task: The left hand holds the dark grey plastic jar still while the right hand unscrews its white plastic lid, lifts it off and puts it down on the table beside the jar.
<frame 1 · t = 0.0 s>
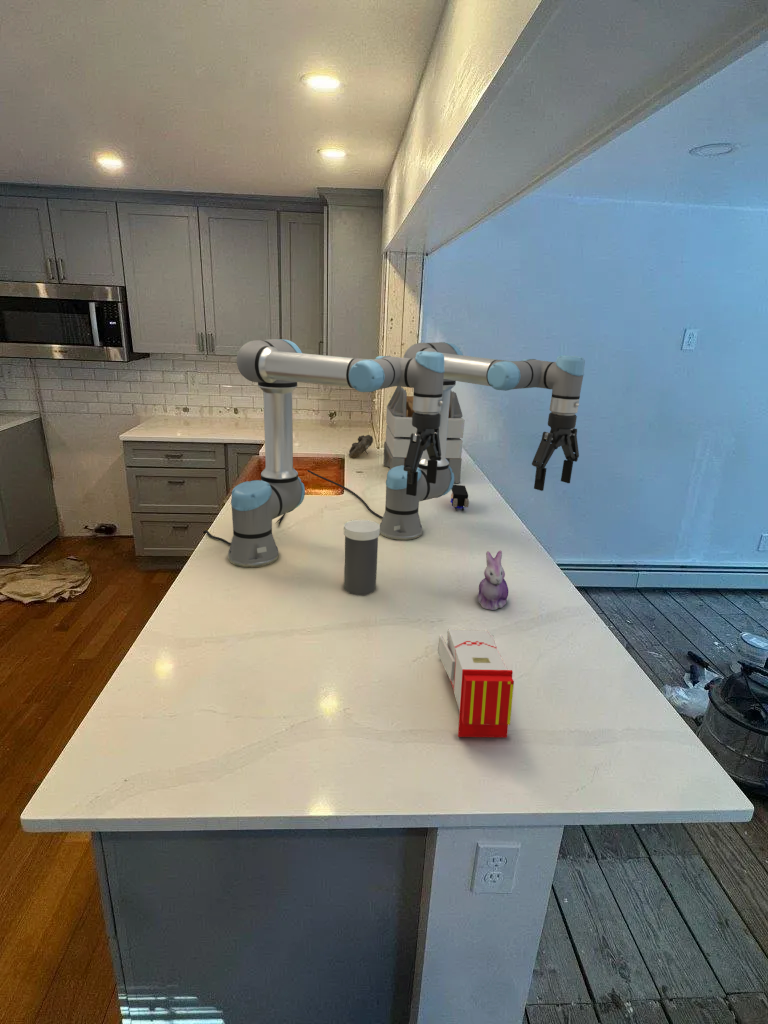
left hand: (421, 488, 157), 28 cm above the counter, tool pointing down, fingers open, 13 cm apart
right hand: (552, 485, 166), 28 cm above the counter, tool pointing down, fingers open, 13 cm apart
feather: (285, 514, 213), on the counter
jar: (360, 587, 160), on the counter
figurine: (492, 603, 155), on the counter
grey and brown box: (419, 473, 275), on the counter
figurine character: (458, 507, 230), on the counter
lid: (361, 526, 154), point 18 cm above the counter, screwed on, not yet turned
fossil: (360, 454, 305), on the counter
toy: (469, 691, 119), on the counter
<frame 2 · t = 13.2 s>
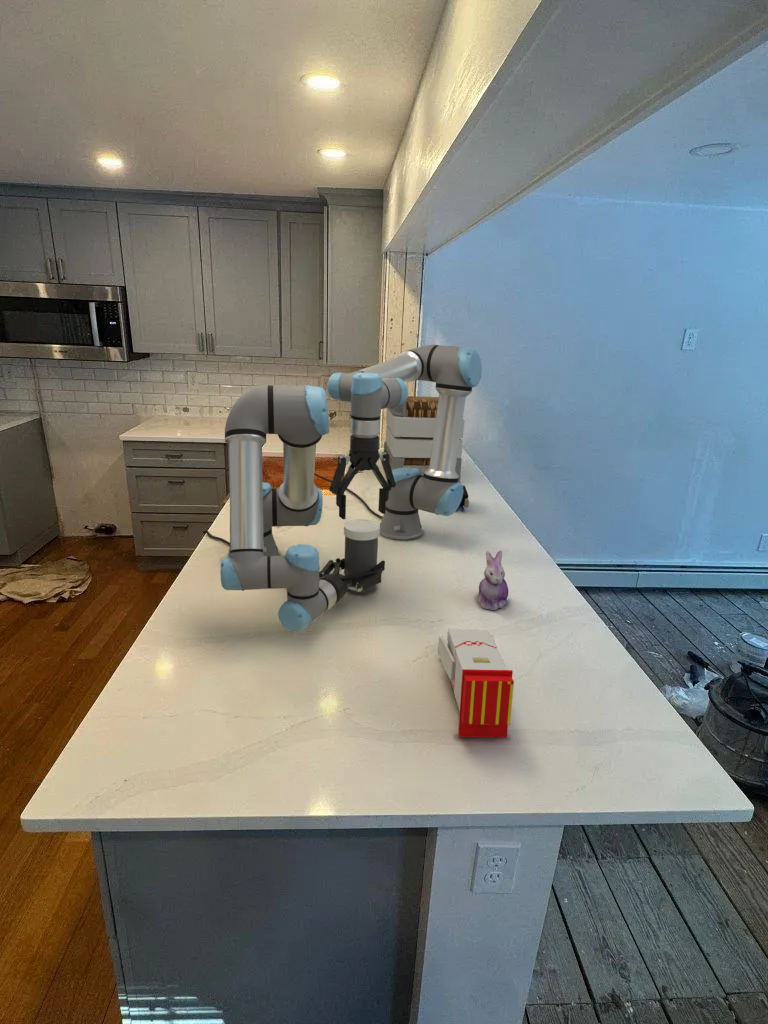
left hand: (368, 561, 162), 6 cm above the counter, tool horizontal, fingers closed on jar, 9 cm apart
right hand: (362, 514, 153), 22 cm above the counter, tool pointing down, fingers open, 11 cm apart
jar: (359, 587, 160), on the counter, touching left hand
everything else where it was.
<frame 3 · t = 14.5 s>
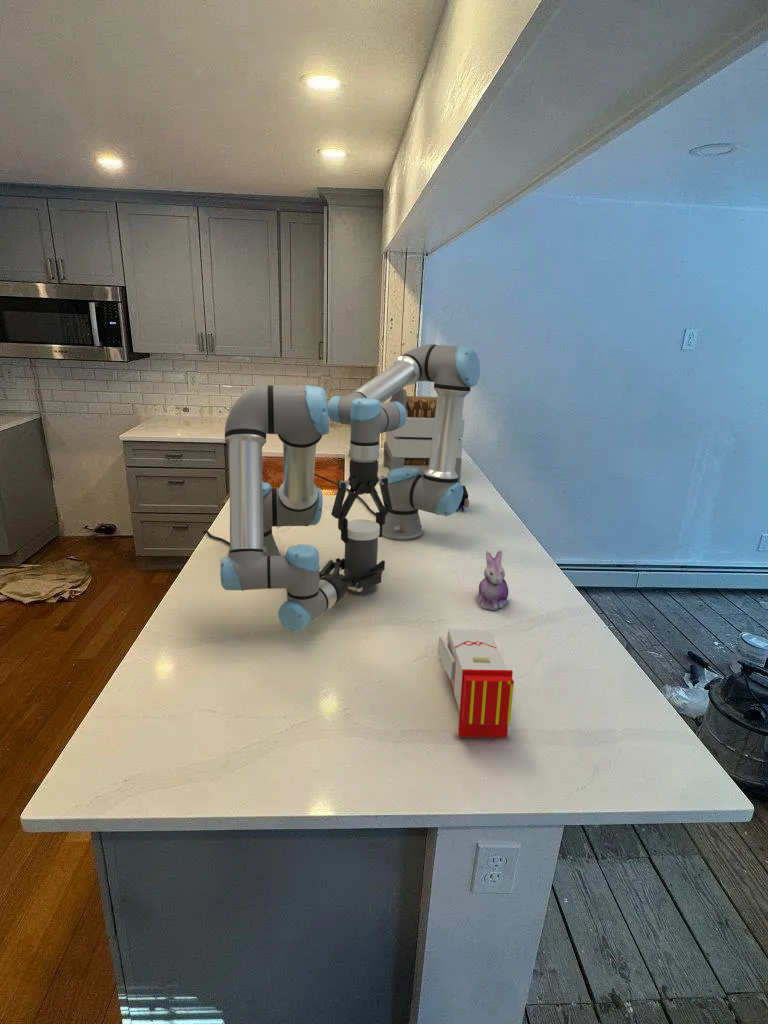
left hand: (368, 561, 162), 6 cm above the counter, tool horizontal, fingers closed on jar, 9 cm apart
right hand: (361, 538, 155), 15 cm above the counter, tool pointing down, fingers closed on lid, 10 cm apart
jar: (359, 587, 160), on the counter, touching left hand
lid: (361, 526, 154), point 18 cm above the counter, screwed on, not yet turned, touching right hand
everything else where it was.
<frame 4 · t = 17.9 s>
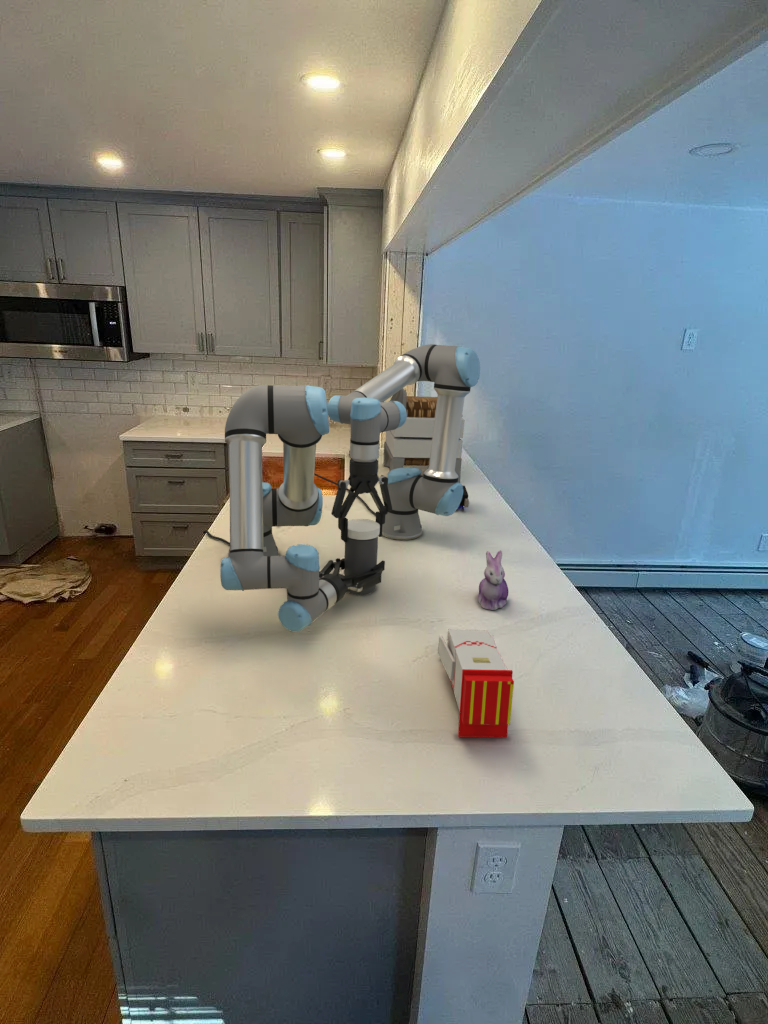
left hand: (368, 561, 162), 6 cm above the counter, tool horizontal, fingers closed on jar, 9 cm apart
right hand: (361, 537, 155), 15 cm above the counter, tool pointing down, fingers closed on lid, 10 cm apart
jar: (359, 587, 160), on the counter, touching left hand
lid: (361, 526, 154), point 19 cm above the counter, turned 114° so far, risen 0.2 cm, still on its thread, touching right hand
everything else where it was.
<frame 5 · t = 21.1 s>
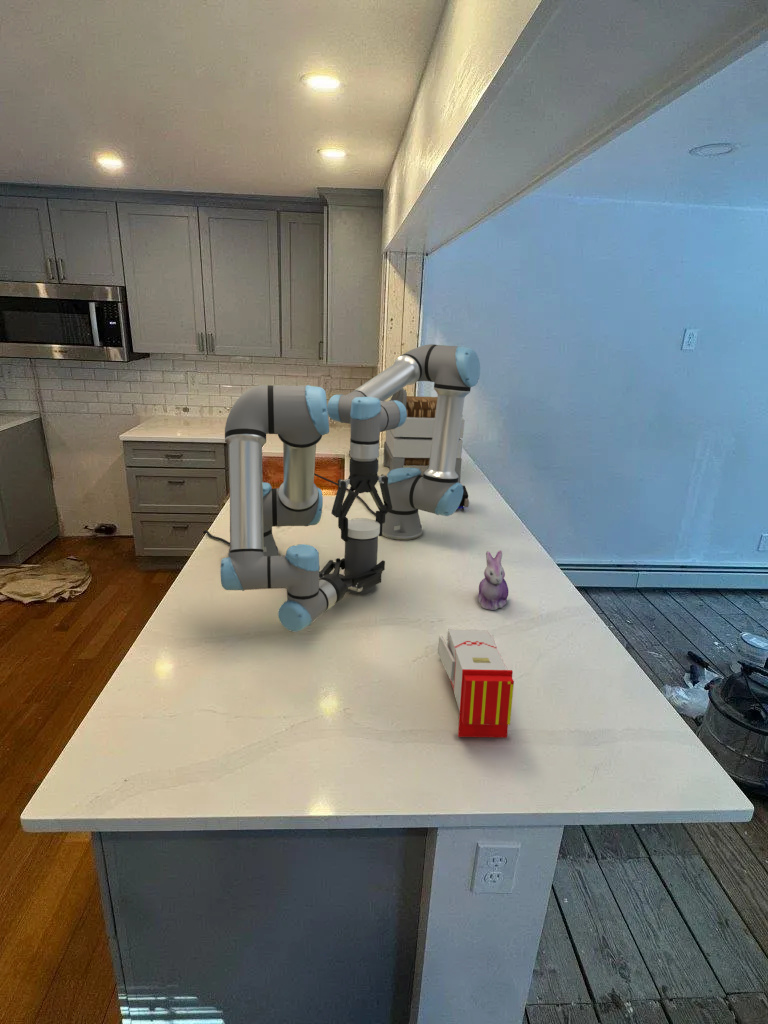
left hand: (368, 561, 162), 7 cm above the counter, tool horizontal, fingers closed on jar, 9 cm apart
right hand: (361, 537, 155), 15 cm above the counter, tool pointing down, fingers closed on lid, 10 cm apart
jar: (360, 587, 160), on the counter, touching left hand
lid: (361, 525, 154), point 19 cm above the counter, turned 228° so far, risen 0.4 cm, still on its thread, touching right hand
everything else where it was.
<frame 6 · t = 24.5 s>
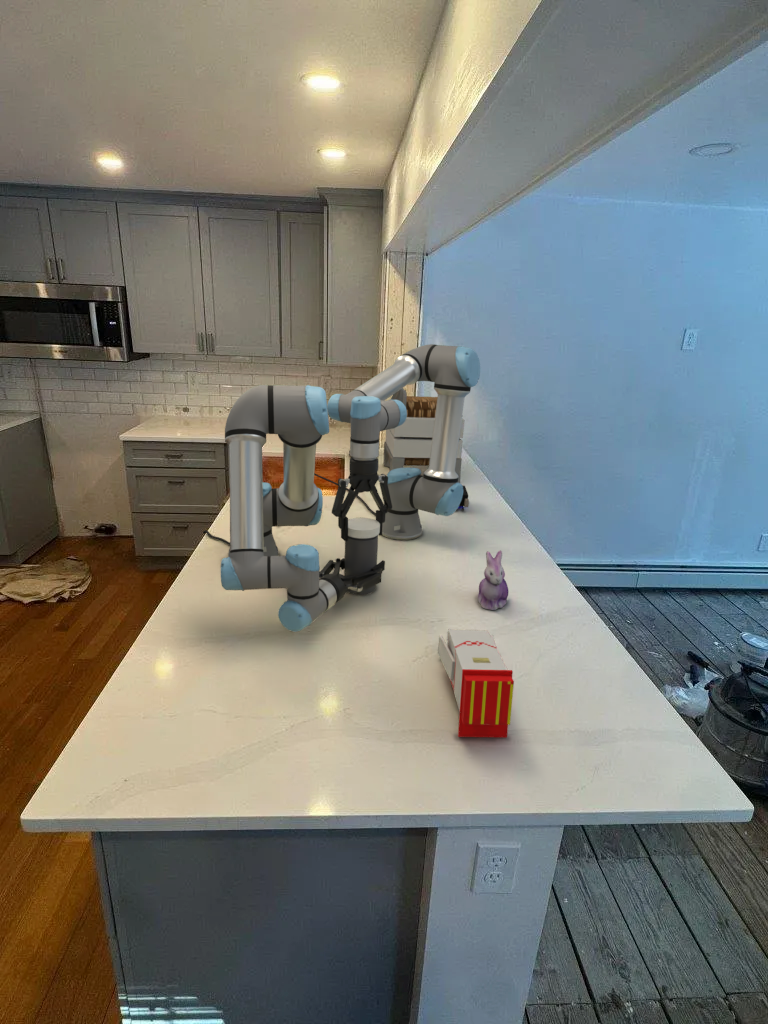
left hand: (368, 561, 162), 7 cm above the counter, tool horizontal, fingers closed on jar, 9 cm apart
right hand: (361, 536, 155), 16 cm above the counter, tool pointing down, fingers closed on lid, 10 cm apart
jar: (360, 587, 160), on the counter, touching left hand
lid: (362, 524, 154), point 19 cm above the counter, turned 342° so far, risen 0.6 cm, still on its thread, touching right hand
everything else where it was.
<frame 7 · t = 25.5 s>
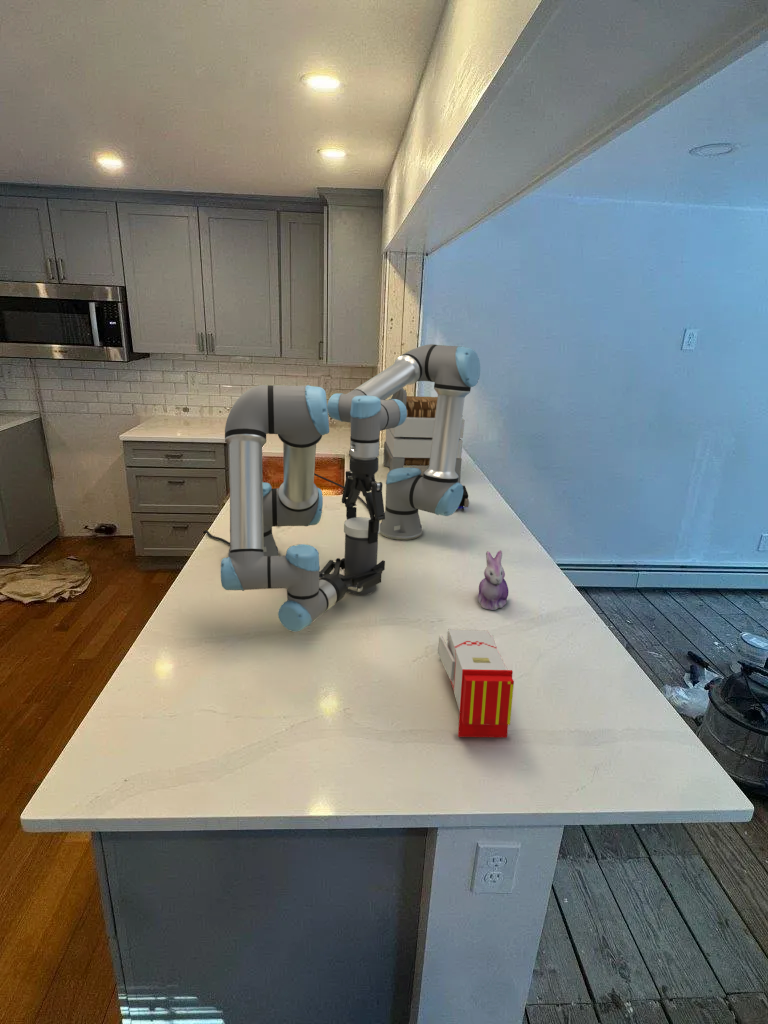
left hand: (368, 560, 162), 7 cm above the counter, tool horizontal, fingers closed on jar, 9 cm apart
right hand: (361, 535, 155), 16 cm above the counter, tool pointing down, fingers closed on lid, 10 cm apart
jar: (360, 587, 160), on the counter, touching left hand
lid: (362, 524, 154), point 19 cm above the counter, off its thread, touching right hand
everything else where it was.
when the right hand's fingers open (0 cm above the counter, at t = 32.9 s): lid drops 2 cm, point 2 cm above the counter.
when the left hand's fingers open (7 cm above the counter, at t = 33.9 s): jar stays where it is, on the counter.
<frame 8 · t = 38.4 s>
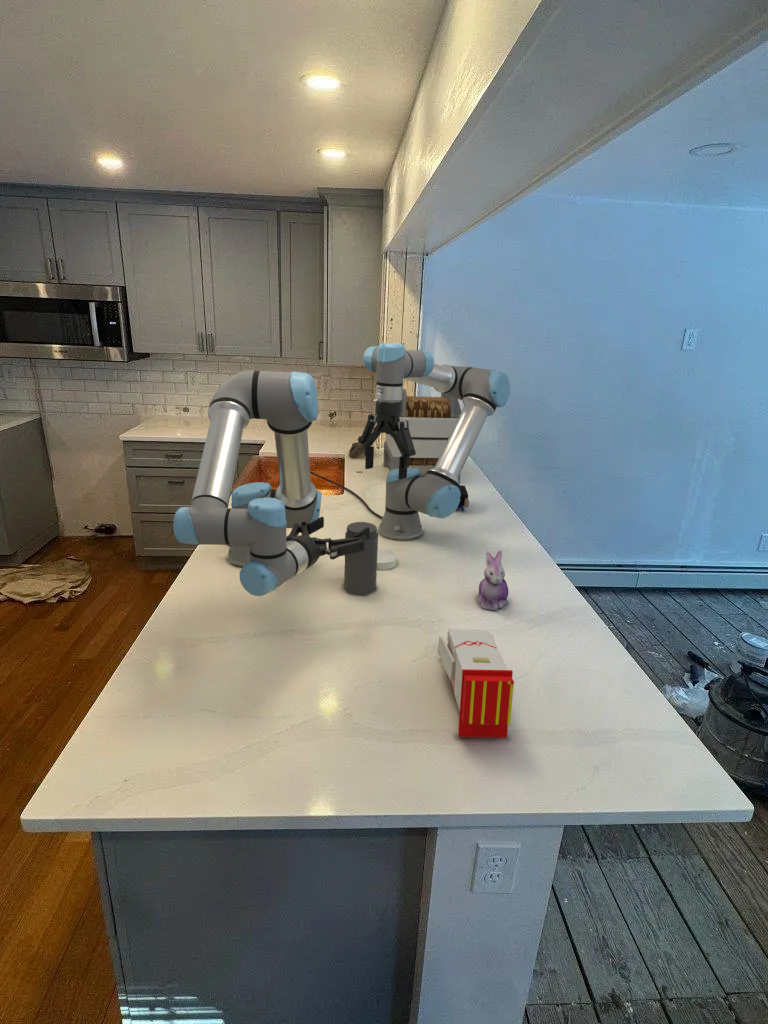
left hand: (345, 527, 146), 21 cm above the counter, tool horizontal, fingers open, 13 cm apart
right hand: (385, 473, 167), 29 cm above the counter, tool pointing down, fingers open, 13 cm apart
jar: (360, 587, 160), on the counter
lid: (381, 557, 176), point 2 cm above the counter, off its thread
everything else where it was.
at the end: lid came off its thread; lid point 2.0 cm above the counter; the left hand is holding nothing; the right hand is holding nothing; jar tilted 0°; jar moved 0.0 cm from its start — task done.
